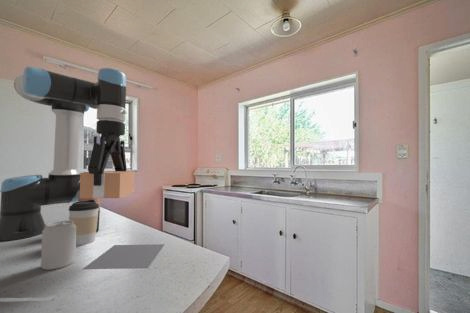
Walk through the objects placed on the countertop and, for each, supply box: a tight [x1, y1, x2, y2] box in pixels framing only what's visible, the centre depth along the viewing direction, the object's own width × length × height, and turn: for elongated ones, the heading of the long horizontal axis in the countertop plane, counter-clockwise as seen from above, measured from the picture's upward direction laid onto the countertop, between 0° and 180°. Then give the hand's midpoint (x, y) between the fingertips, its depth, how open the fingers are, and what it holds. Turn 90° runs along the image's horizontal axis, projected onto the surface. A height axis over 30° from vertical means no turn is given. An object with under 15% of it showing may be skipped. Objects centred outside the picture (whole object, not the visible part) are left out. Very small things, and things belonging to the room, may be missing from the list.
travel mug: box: [77, 184, 101, 233], centre depth 90 cm, size 8×8×20 cm
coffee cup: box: [68, 200, 99, 248], centre depth 77 cm, size 9×9×15 cm
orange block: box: [80, 170, 136, 199], centre depth 65 cm, size 11×11×7 cm
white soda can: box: [40, 219, 77, 271], centre depth 61 cm, size 8×8×12 cm
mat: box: [82, 243, 166, 270], centre depth 66 cm, size 17×17×1 cm
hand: (109, 194), depth 65 cm, fingers closed on orange block, 11 cm apart
